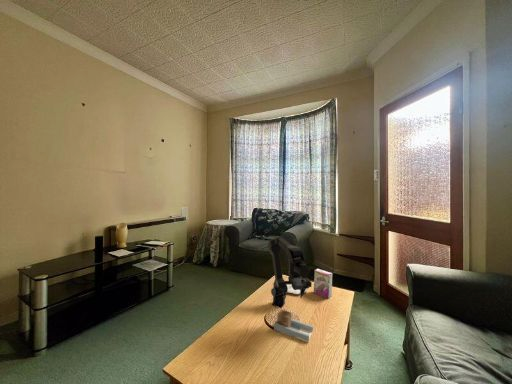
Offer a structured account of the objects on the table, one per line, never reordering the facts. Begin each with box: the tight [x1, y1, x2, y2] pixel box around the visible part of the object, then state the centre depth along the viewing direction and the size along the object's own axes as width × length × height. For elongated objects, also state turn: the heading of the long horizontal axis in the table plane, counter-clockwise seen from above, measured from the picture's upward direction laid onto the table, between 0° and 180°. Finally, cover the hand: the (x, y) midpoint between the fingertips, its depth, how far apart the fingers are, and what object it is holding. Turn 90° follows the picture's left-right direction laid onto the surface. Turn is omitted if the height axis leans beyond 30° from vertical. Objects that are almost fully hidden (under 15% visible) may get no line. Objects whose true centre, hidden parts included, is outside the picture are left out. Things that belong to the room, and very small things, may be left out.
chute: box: [273, 318, 314, 343], centre depth 111 cm, size 18×9×3 cm, turn 62°
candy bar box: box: [313, 268, 333, 299], centre depth 148 cm, size 11×5×16 cm, turn 47°
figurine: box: [287, 285, 309, 295], centre depth 155 cm, size 20×18×16 cm
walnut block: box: [276, 309, 293, 328], centre depth 113 cm, size 6×5×7 cm
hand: (293, 297), depth 119 cm, fingers open, 9 cm apart
